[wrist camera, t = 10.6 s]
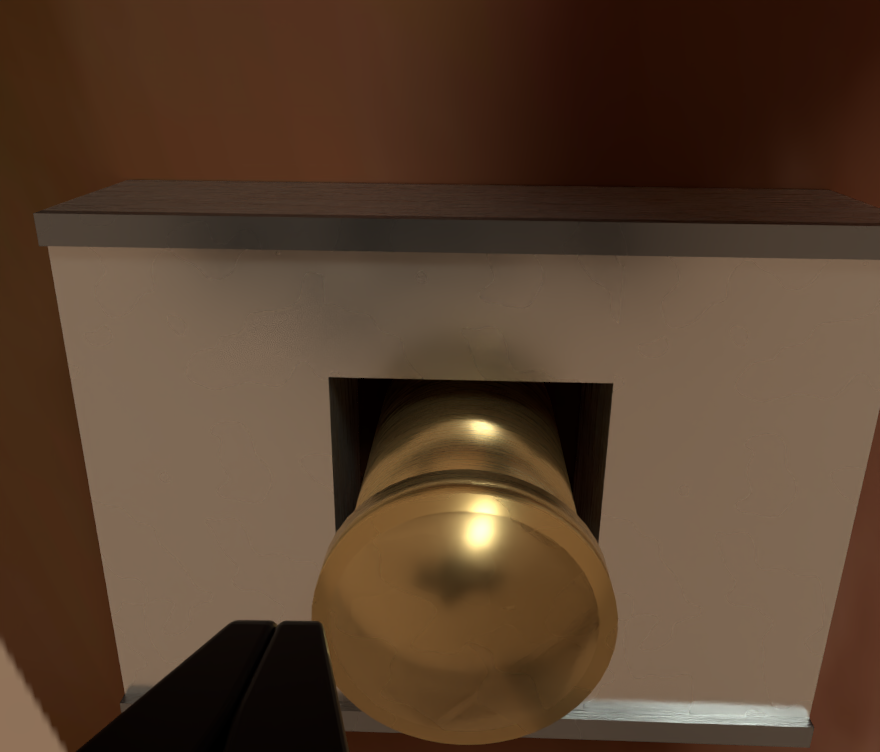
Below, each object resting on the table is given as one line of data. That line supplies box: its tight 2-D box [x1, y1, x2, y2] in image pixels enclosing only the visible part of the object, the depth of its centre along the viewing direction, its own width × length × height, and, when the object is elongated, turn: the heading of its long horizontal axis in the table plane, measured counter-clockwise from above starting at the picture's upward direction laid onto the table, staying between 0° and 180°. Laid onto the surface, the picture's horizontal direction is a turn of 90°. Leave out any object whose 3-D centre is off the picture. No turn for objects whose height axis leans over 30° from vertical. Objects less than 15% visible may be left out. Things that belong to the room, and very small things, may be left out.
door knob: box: [311, 379, 618, 745], centre depth 17 cm, size 5×5×8 cm
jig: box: [33, 180, 880, 748], centre depth 19 cm, size 16×12×4 cm
